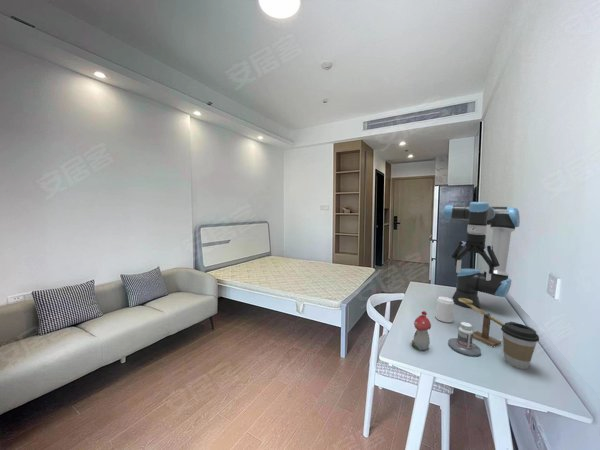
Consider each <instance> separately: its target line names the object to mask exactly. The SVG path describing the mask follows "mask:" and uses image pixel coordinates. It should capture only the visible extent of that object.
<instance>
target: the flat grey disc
mask: <svg viewBox="0 0 600 450" xmlns="http://www.w3.org/2000/svg"><path fill="white" fill-rule="evenodd" d="M457 339H458V337H457V338H456V337H455V338H449V339H448V342H447V346H448V347H449V348H450V349H451V350H452V351H454V352H456V353H458V354H460V355H463V356H467V357H474V358H477V357H479V355H480V354H482V349H481V348H480V347H479V346H478V345H477V344H476V343H473V342H472V348H470V349H467V348H463V347H461V346H459V345H458V344H457ZM476 356H477V357H476ZM480 356H481V355H480Z"/></svg>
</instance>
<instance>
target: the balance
mask: <svg viewBox="0 0 600 450" xmlns="http://www.w3.org/2000/svg"><path fill="white" fill-rule="evenodd" d="M458 300H459V301H460V302H463V303H465V304H467V305H468V306H470V307H471V308H470V309H473V310H474V311H476V312H477V313H480V314H481V315H483V320H482V327H481V328H482V330H481V331H479V330H476V331H473V339H474V340H477V341H478V340H479V341H478V342H480V341H481V342H480V343H482V344H485V345H487V344H488V345H487V346H489V345H490V346H489V347H491V346H492V348H495V347H497V346H499V344H500V345H502V341H501V340H499V339H497V338H494V337H492V336H490V328H491V327H490V326H491V320H492V321H493V323H496V324H498V325H500V326H501V327H502V326H503V325H505V323H503V322H502V321H499V320H498V319H496V318H495V317H494V316H492V315H491V314H490V313H487V312H485V311H484V310H482V309H480V307H479V308H477V307H475V306H474V305H472V303H473V301H472V300H469V299H466V298H459V299H458ZM512 322H513V323H517V322H515V321H512ZM494 346H495V347H494Z"/></svg>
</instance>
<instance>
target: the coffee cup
mask: <svg viewBox="0 0 600 450" xmlns="http://www.w3.org/2000/svg"><path fill="white" fill-rule="evenodd" d="M513 322H514V321H508V322H505V323H504V324H505V325H503V326H501V328H500V330H501V331H502V339H503V340H502V343H503V346H502V347H503V358H504V362H505V363H506V364H508V365H510V366H512V367H514V368H516V369H521V370H526V369H528V368H529V366H530V363H531V361H532V358H533V354H534V352H535V348H536V345H537V342H539V341H540V336H539V334H538V333H537V331H536V329H534V328H532V327H530V326H527V325H524V324H523V323H522V324H521V323H517V322H516V323H513Z"/></svg>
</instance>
